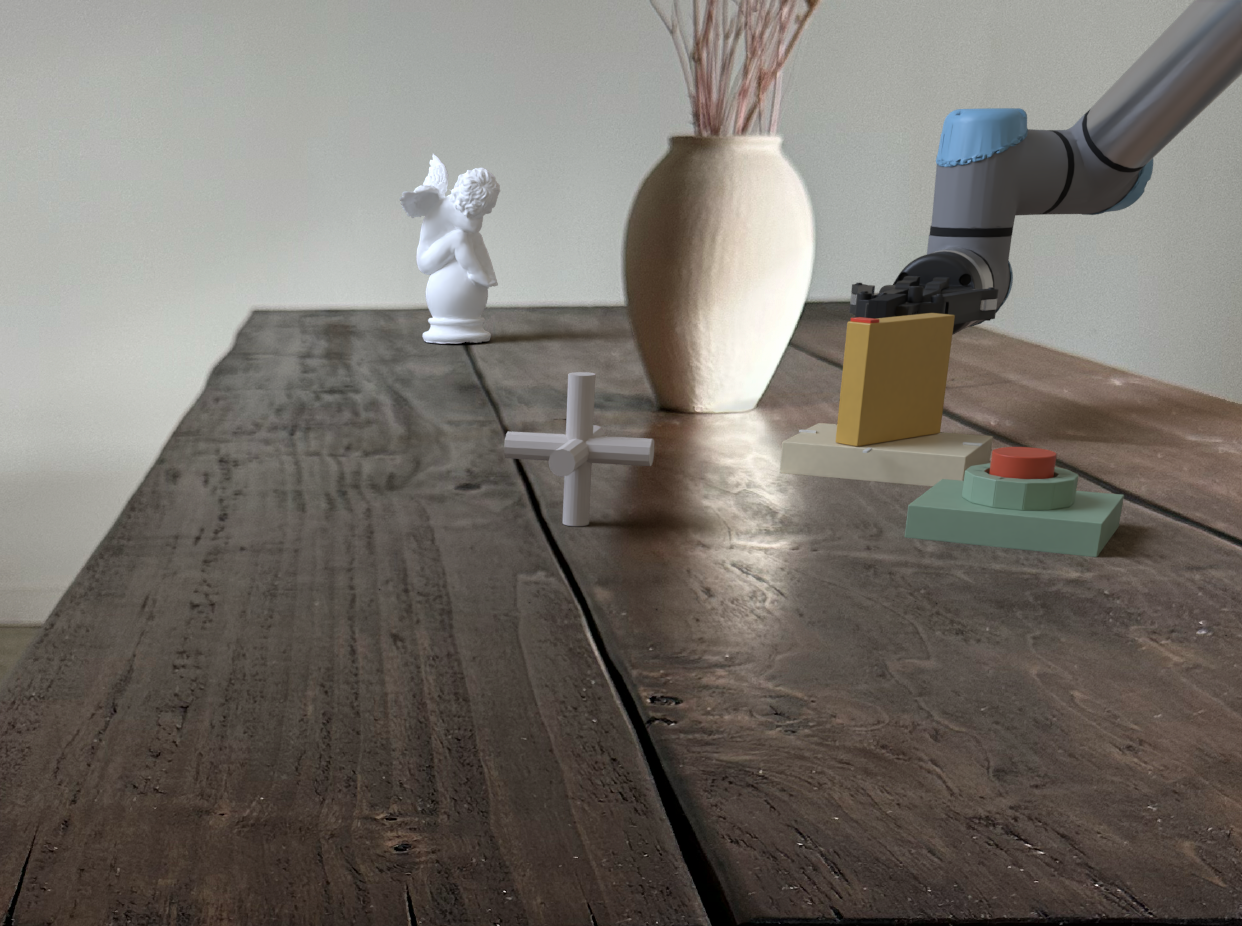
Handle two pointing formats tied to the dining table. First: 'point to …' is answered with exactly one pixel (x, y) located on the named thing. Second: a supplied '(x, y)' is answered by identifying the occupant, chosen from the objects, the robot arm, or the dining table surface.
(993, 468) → the button
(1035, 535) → the button box
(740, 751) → the dining table surface
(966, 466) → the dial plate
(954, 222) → the robot arm
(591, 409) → the pipe connector
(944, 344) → the tan flat block
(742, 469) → the dining table surface
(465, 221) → the cherub figurine
